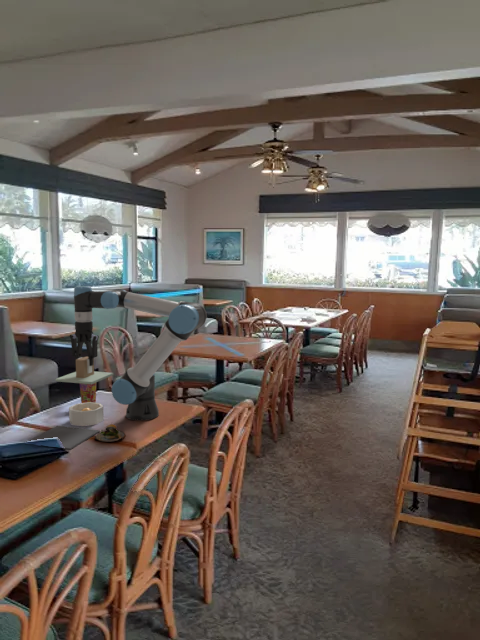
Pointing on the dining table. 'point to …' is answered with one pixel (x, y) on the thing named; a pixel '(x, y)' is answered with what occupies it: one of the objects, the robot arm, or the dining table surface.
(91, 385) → the smoothie
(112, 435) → the burger
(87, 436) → the mat
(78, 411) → the bowl
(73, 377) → the lid
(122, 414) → the dining table surface
